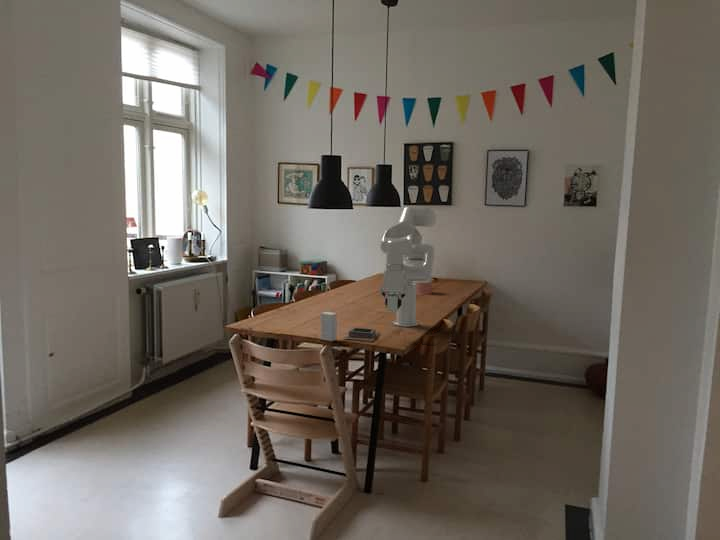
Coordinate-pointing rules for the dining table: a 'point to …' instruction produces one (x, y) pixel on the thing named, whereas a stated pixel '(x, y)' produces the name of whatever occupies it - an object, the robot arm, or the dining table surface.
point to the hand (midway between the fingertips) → (393, 306)
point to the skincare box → (329, 326)
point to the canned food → (424, 287)
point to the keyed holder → (362, 334)
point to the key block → (392, 302)
